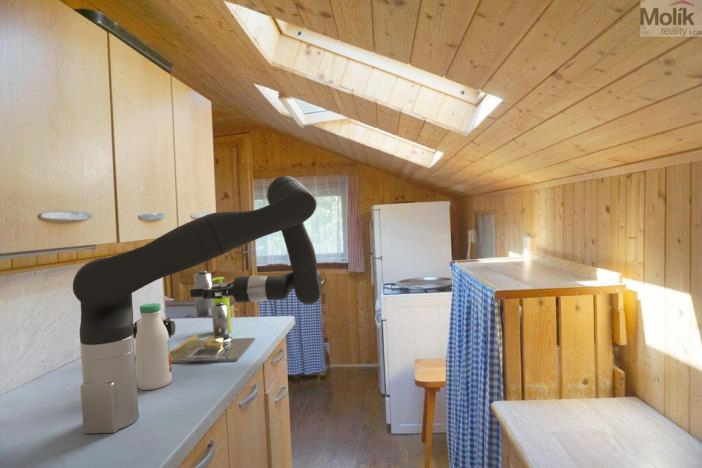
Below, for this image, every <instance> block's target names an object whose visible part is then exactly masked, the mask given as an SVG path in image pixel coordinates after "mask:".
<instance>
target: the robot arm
mask: <svg viewBox="0 0 702 468" xmlns="http://www.w3.org/2000/svg"><path fill="white" fill-rule="evenodd" d="M266 199H267V203H268V205H266V206H263V207H259V208H257V209H252V210H247V211H246V210H243V211H219V212H217V211H216V212H213V213H208V214H206V215H205V214H204V216H201V217H198V218H195V219H193V220H190V221H187V222H186V223H184V224H181V225H179V226H177V227H175V228H174V229H172V230H170V231H168V232H166V233H164V234H162V235H160V236H159V237H157V238H156V239H154V240H152V241H150V242H148V243H146V244H145V245H142V246H140V247H137V248H135V249H132V250H129V251H128V250H127V251H126V252H122V253H119V254H116V255H112V256H109V257H100V258H95V259H93V260H91V261H89V262H87V263H85V264H84V265H83V266H81V267H80V268H79V270H78V271H76V274H75V275H74V278H73V281H72V292H73V294H74V297H75V298H76V299H77V301H79V302H80V325H79V326H80V327H79V342H80V344H79V345H80V355H81V356H80V358H81V370H82V384H81V385H80V397H81V398H80V401H81V413H82V426H83V427H82V428H83V434H112V433H116V432H118V431H119V430H121V429H124V428H126V427H128V426H130V425H131V424H133V423H135V422H136V421H137V420H138V418H139V417H140V413H139V397H138V396H139V395H138V383H137V368H136V351H135V338H134V336H133V324H134V309H133V308H134V307H133V306H134V305H133V293H135V292H136V291H139V290H140V289H142V288H144V287H145V286H148V285H149V284H151V283H153V282H155V281H158V280H160V279H162V278H165V277H167V276H170V275H174V274H177V273H180V272H183V271H186V270H189V269H192V268H193V267H196V266H199V265H201V264H204V263H206V262H209V261H211V260H213V259H215V258H217V257H220V256H222V255H224V254H226V253H228V252H230V251H232V250H234V249H237V248H239V247H241V246H244V245H246V244H249V243H251V242H253V241H254V242H255V241H257V240H258V239H261V238H264V237H265V236H270V235H271V234H275V233H278V232H281V233H282V236H283V240H284V242H285V247H286V250H287V254H288V258H289V262H290V263H289V264H290V266H291V270H292V271H291V272H287V273H284V274H280V275H240V276H239V275H238V276H236V277H235V278H234V279H233V281H232V282H231V281H230V282H229V281H227V282H222V283H219V284H218V283H217V282H216V283H215V284H213V283H212V287H211V288H204V289H195V288H191V289H190V290H189V295H190V297H191V298H195V297H203V299H221V298H229V299H230V297H232V296H233V298H234V299H233V300H234V302H236V303H257V302H264V301H265V302H266V301H279V300H280V301H281V300H285V299H287V298H288V297H289V295H290V294H291V292H292V290H294V293H295V297H296V298H297V300H298V301H299V302H300V303H302V305H303V304H304V305H311V306H312V305H313V304H316V303H317V302H318V301H319V299H320V297H321V294H322V293H321V291H322V275H321V272H319V271H318V261H317V256H316V252H315V248H314V245H313V242H312V239H311V238H310V236H309V232H308V231H307V229H306V226H305V223H304V222H306V221H307V220H309V219H310V218H311V217H312V215H313V214H314V213H315V211H316V210H317V209H316V208H317V200H316V198H315V197H314V195H313V193H312V192H311V191H309V190H308V189H307V187H306V186H305V185H304V184H303V183H301V182H300V181H299V180H298V179H296V178H294V177H293V176H289V175H281V176H278V177H275V179H273V180H272V181H271V183H270V184H269V186H268V188H267V193H266ZM208 292H209V293H210V295H208Z"/></svg>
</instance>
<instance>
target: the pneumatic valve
mask: <svg viewBox="0 0 702 468" xmlns="http://www.w3.org/2000/svg"><path fill="white" fill-rule="evenodd" d="M160 317H161V316H160ZM161 320H162V322H163V324H164V325H165V327H166V329H167V331H168V335H169V339H170V338H172V337H173V336H174V335H175V333H176V322H175V321H174V320H172V319H171V316H163V317H161ZM140 323H141V318H140V319H138V320H136V321H135V322H134V323H133V336H134V340H135V339H136V334H137V331H138V329H139V326H140Z"/></svg>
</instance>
